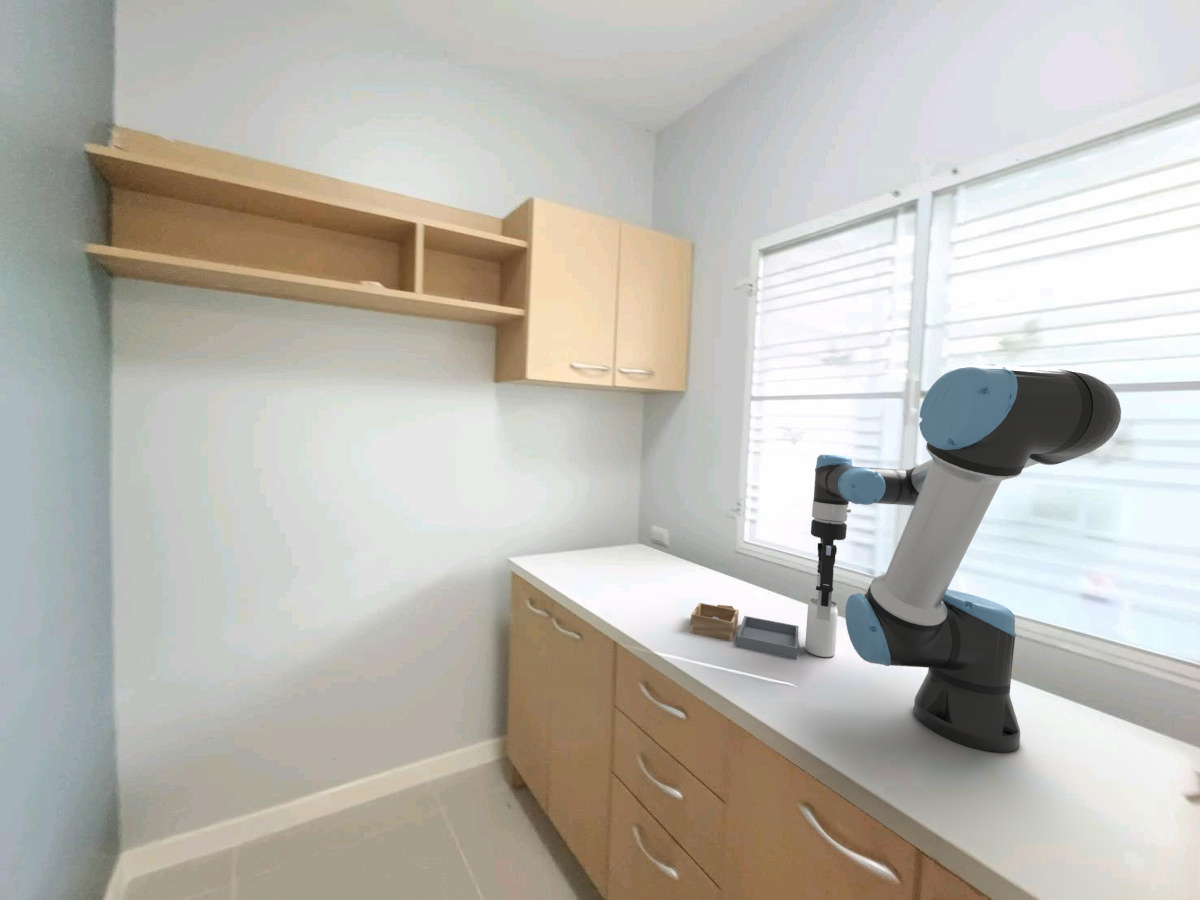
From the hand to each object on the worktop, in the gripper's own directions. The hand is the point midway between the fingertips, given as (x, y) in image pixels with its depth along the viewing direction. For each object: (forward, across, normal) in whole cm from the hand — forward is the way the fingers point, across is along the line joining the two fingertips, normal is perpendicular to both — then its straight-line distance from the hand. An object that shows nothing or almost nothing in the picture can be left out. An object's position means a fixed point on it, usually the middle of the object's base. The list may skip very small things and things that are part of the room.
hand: (821, 609), depth 116 cm
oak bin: (+10, -2, +24) cm, 26 cm away
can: (+10, -1, 0) cm, 10 cm away
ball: (+10, -2, +24) cm, 26 cm away
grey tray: (+10, -2, +11) cm, 15 cm away
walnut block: (+10, +7, +23) cm, 26 cm away
